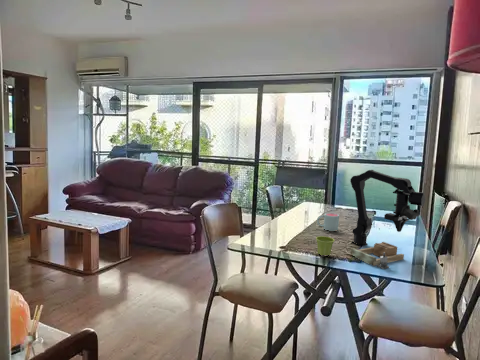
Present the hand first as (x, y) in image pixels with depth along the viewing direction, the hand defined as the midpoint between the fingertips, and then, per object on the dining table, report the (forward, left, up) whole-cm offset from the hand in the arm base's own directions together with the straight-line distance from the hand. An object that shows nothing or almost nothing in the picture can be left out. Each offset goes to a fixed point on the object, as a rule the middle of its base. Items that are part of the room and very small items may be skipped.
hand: (399, 231), depth 194 cm
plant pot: (-14, -38, -12) cm, 43 cm away
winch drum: (+11, -23, -12) cm, 28 cm away
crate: (0, -9, -12) cm, 15 cm away
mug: (-50, -3, -12) cm, 52 cm away
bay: (0, -15, -12) cm, 20 cm away
